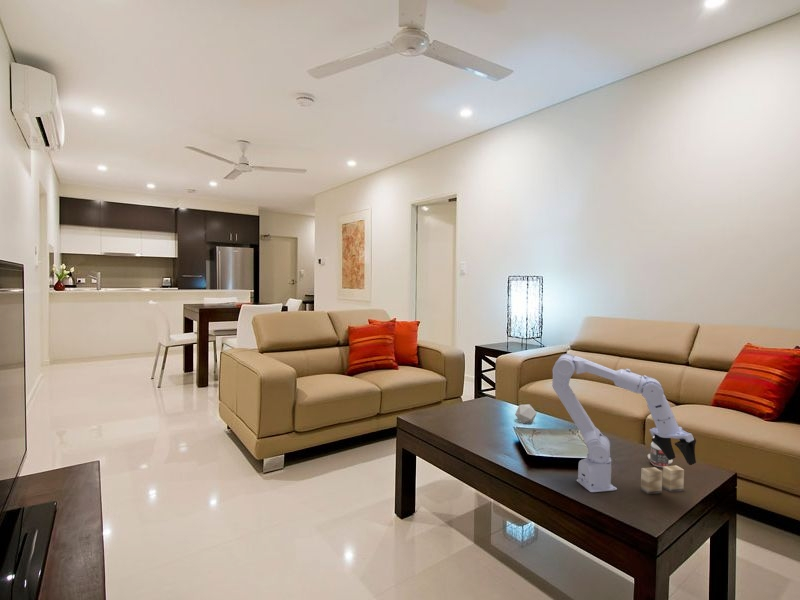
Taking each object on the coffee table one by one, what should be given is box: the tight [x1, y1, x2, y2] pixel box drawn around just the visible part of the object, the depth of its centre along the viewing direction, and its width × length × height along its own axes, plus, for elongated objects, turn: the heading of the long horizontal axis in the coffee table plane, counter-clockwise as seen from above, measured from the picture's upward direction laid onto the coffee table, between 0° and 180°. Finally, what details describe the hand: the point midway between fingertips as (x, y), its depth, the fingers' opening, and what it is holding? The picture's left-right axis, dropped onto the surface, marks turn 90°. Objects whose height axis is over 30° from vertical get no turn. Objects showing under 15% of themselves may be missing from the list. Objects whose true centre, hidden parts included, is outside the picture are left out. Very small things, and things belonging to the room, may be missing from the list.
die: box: [514, 403, 538, 424], centre depth 195 cm, size 8×9×10 cm
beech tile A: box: [640, 466, 663, 495], centre depth 132 cm, size 5×3×7 cm, turn 100°
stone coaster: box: [647, 453, 674, 465], centre depth 155 cm, size 8×8×1 cm
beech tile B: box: [662, 464, 685, 493], centre depth 133 cm, size 5×3×7 cm, turn 100°
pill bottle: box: [649, 436, 669, 468], centre depth 150 cm, size 6×6×10 cm
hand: (681, 461), depth 124 cm, fingers open, 7 cm apart
